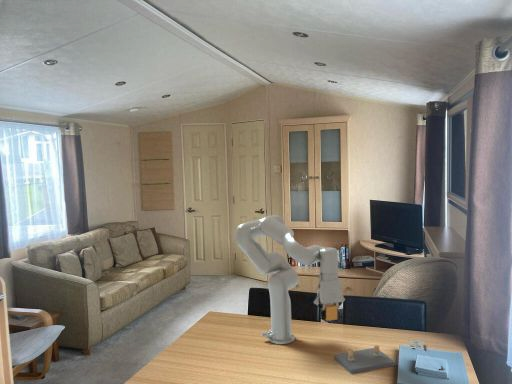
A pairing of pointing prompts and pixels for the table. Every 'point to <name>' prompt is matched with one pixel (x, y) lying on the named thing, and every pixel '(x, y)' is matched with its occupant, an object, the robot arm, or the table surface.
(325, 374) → the table surface
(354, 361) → the terminal board
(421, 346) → the adjustable wrench
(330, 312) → the orange block
